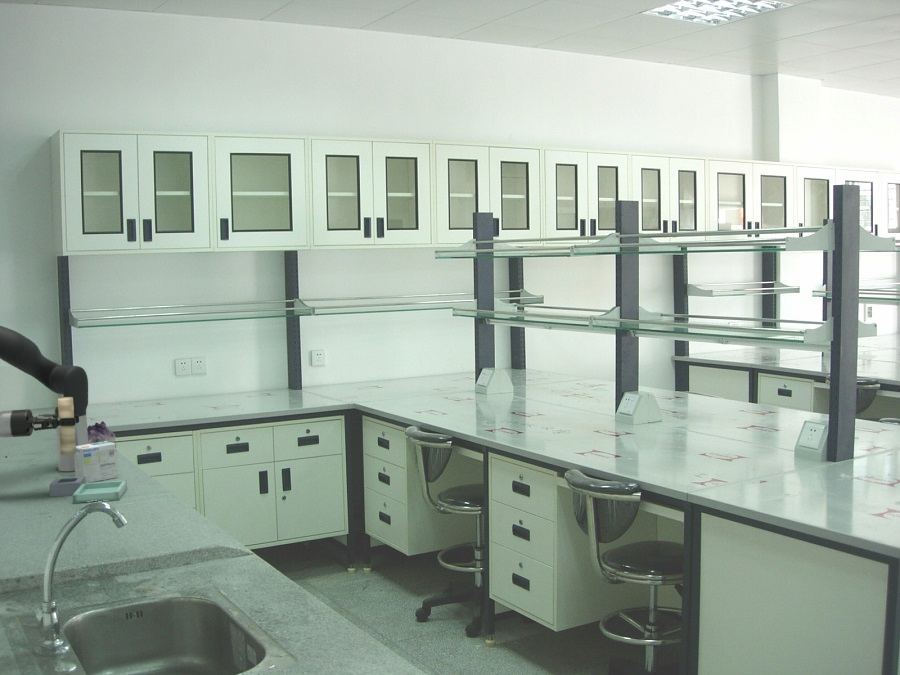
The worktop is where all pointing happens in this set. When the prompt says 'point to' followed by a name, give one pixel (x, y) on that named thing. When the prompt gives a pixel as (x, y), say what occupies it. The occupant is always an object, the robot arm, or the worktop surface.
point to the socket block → (66, 486)
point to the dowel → (67, 431)
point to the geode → (100, 434)
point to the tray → (100, 491)
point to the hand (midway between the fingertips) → (76, 420)
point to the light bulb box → (96, 461)
